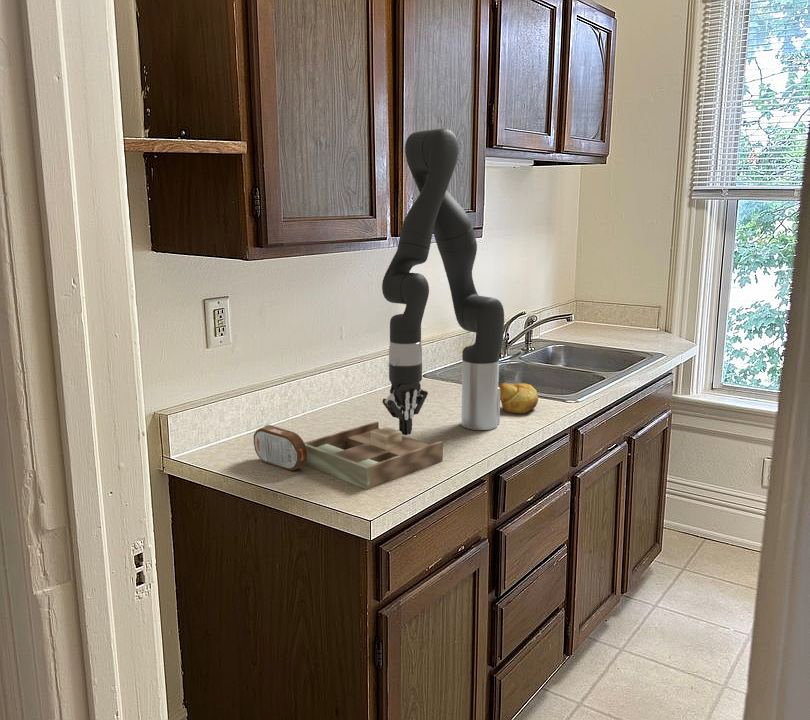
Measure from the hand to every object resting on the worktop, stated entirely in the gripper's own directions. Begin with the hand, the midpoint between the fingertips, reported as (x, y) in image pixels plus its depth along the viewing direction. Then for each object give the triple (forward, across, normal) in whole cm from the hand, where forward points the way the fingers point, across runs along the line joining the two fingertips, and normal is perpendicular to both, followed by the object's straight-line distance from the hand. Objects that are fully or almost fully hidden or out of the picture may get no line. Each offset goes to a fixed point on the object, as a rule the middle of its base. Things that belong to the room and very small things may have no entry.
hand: (405, 433), depth 175 cm
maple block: (+1, +6, 0) cm, 6 cm away
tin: (+4, +26, -13) cm, 29 cm away
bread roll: (+4, -46, -1) cm, 47 cm away
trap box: (+4, +10, 0) cm, 11 cm away
